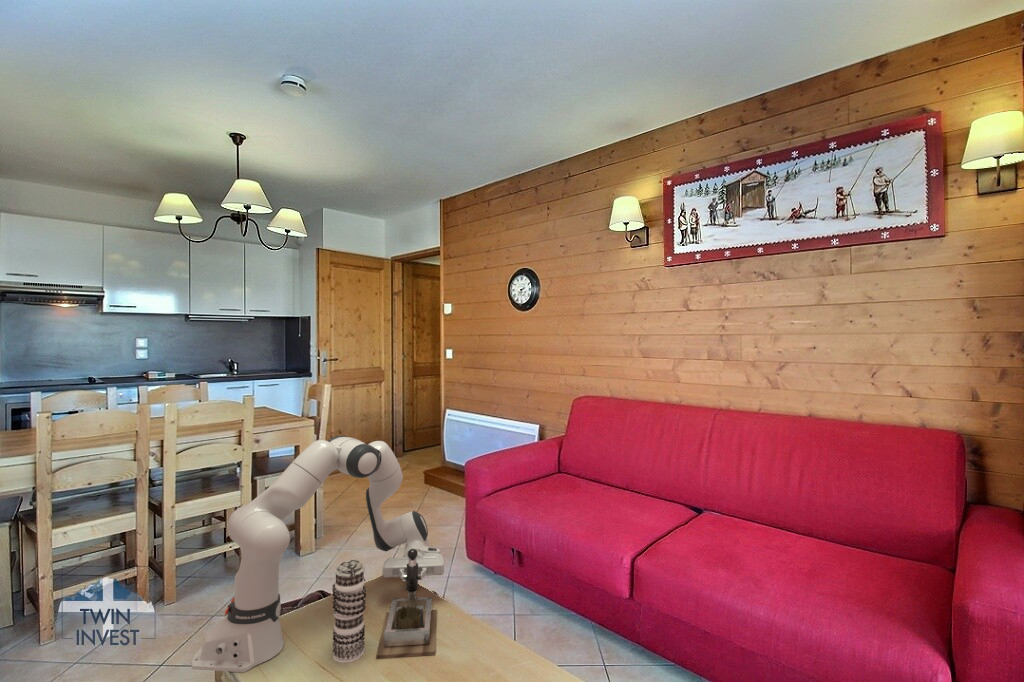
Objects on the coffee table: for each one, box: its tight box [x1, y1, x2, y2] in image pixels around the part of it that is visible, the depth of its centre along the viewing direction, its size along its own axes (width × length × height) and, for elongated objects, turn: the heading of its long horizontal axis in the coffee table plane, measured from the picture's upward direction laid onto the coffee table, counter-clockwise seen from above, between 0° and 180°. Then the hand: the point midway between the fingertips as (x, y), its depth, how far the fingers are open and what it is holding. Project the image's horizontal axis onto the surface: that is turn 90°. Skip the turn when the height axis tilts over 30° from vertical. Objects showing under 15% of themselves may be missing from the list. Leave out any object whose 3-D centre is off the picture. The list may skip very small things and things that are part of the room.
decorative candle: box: [331, 559, 367, 664], centre depth 137 cm, size 9×9×25 cm
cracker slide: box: [384, 549, 433, 647], centre depth 149 cm, size 12×21×19 cm, turn 7°
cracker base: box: [375, 606, 438, 660], centre depth 146 cm, size 16×22×6 cm
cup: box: [396, 605, 421, 629], centre depth 144 cm, size 8×7×8 cm
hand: (412, 578), depth 157 cm, fingers closed on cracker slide, 4 cm apart
